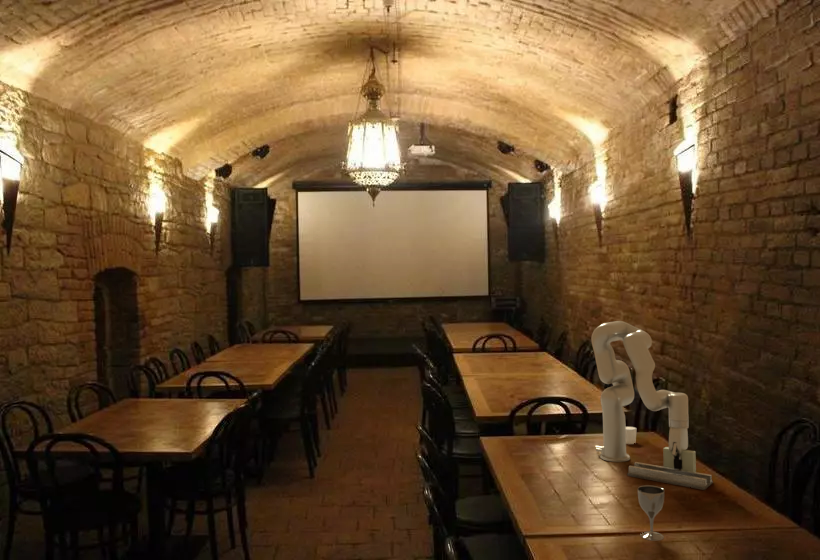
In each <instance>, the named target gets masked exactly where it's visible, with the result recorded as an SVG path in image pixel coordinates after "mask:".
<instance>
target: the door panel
mask: <svg viewBox="0 0 820 560" xmlns="http://www.w3.org/2000/svg"><path fill="white" fill-rule="evenodd" d="M662 451H663V454H662V456H663V457H662V458H663V462H662V463H663V467H668V468H674V459H673V455H672V452H673V451H671V452H670V451H669V446H665V447H663V449H662ZM677 452H678V451H677ZM678 455H679V454H678ZM696 458H697V457H696V451H695V450H691V449H686V450H684V451H683V452H681V460H682V470H686V471H692V472H697V466H696V464H697V461H696V460H697V459H696Z"/></svg>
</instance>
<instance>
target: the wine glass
mask: <svg viewBox="0 0 820 560" xmlns="http://www.w3.org/2000/svg"><path fill="white" fill-rule="evenodd" d="M637 498H638V503H639V506H640V508H641V509H642V510H643V511H644V513H645V514H646V515H647V516H648V519H649V526H650V531H643V532H644V533H643V532H641V533H642V534H641V533H640V535H639V536H640V537H641V538H642V539H644V540H645V541H646V540H647V541H652V542H656V541H658V542H659V541H662V540H664V538H665V537H664V535H663V534H662V533H659V532H656V531H654V520H655V517H656V516H657V515H658V514H659V513H660V511H662V510H663V506H664V503H665V489H664V488H663V487H660V486H658V485H657V486H656V485H649V484H645V485H640V486H638V487H637Z"/></svg>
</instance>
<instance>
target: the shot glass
mask: <svg viewBox="0 0 820 560" xmlns="http://www.w3.org/2000/svg"><path fill="white" fill-rule="evenodd" d="M636 441H637V427H635V426H626V445H634V443H635V444H636Z"/></svg>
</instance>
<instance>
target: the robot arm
mask: <svg viewBox="0 0 820 560" xmlns="http://www.w3.org/2000/svg"><path fill="white" fill-rule="evenodd" d="M590 340H591V346H592V349H593V353H594V358H595V364H596V367H597V373H598V377H599V378H598V379H600V382H602V383H604V384H606V385H611V384H612V386H609V387H607V388H605V389H604V390H603V391H602V392H601V394H600V406H601V410H602V411H601V413H602V434H603V435H602V437H603V439H602V440H603V445H602V446H601V445H595V451H596V452H600V455H599V457H600V459H601V460H602V461H603V460H604V461H606V462H613V463H622V462H623V463H624V462H628V461H630V459H631V456H630V455H629V453H627V444H626V427H627V426H626V424H627V423H626V415H625V412H624V408H623V407H626V406H628V405H630V404H631V403H633V401H634V399H635V390H634V384H633V380H632V379H633V378H632V375H631V371H630V368H629V366H628V365H627V363H626V362H624V361H622V360H619V359H616V354H615V351H614V347H612V345H611V343H612V342H616V341H617V342H618V341H622V344H623V348H624V349H625V351H626V353H627V356H628V358H629V360H630V362H631V364H632V366H633V368H634V371H635V382H636V388H637V392H638V394H639V397H640V398H641V400H642V402H643V404H644V406H645V407H646V408H647V409H648V410H650V411H652V412H657V411H660V410H661V411H662V410H663V409H667V408H668V427H669V431H668V432H669V433H668V447H669V451H670V452H671V451H673V452H672V455H673V459H674V469H680V470H682V460H681V452H683V451H684V450H688V447H689V436H688V435H689V434H688V429H689V424H690V423H689V422H690V421H689V418H690V417H689V396H688V394H686V393H684V392H674V391H670V390H667V389H660V390H657V389H656V387H655V385H654V383H653V372H654V370H655V368H656V363H655V360H654V359H653V356H652V354H651V352H650V348H651V347H652V344H653V340H652V337H651V336H650V334H649V333H648V332H646V331H644V329H641V328H639V327H637V326H634V325H633V324H630V323H628V322H625V321H622V320H616V321H610V322H604V323H601V324H600V325H598V326H597V327H596V328H594V329H593V332H592V334H591V339H590ZM677 451H678V452H677ZM678 454H679V455H678Z"/></svg>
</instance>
